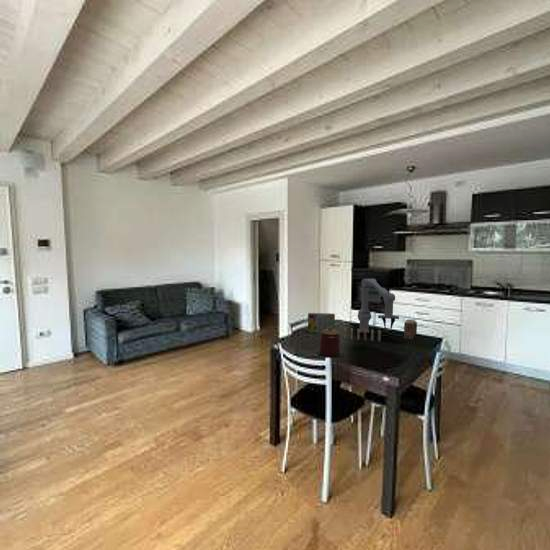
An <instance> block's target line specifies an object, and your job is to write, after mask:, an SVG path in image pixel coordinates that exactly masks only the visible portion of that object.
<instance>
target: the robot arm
mask: <svg viewBox="0 0 550 550" xmlns="http://www.w3.org/2000/svg"><path fill="white" fill-rule="evenodd" d="M360 287H361V304H360V305H361V307H360V309H359V310H358V314H357V319H358V321H359V329H360V333H364V329H367V333H368V334H369V333H370V330H369V329H370V328H369V327H370V320H371V319H372V312H371V310H370V308H369V290H370V289H371V288H374V289H375V290H377V292H378V295H380V296H381V297H382V299H383V304H384V314H378V315H377V318H378V319H381V320H382V322H383V327H384V329H387V327H386V326H387V325H386V323H387V319H389V320H390V329H392V328H393V326H394V323H395V322H396V320H400V316H399V315H394V301H395V300H396V295H395V294H394V293H392V292H389V291H388V290H387V288H386V287H382V286H381V285H380V284H379V283H378V282H377V279H376V278H363V279H362V280H361V286H360Z"/></svg>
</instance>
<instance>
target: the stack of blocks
mask: <svg viewBox="0 0 550 550" xmlns="http://www.w3.org/2000/svg"><path fill="white" fill-rule="evenodd" d="M403 325H404V327H403V339H406V338H407V340H413V339H414V338H415V337H416V334H417V332H418V331H417V330H418V322H417V321H416V320H415V319H414V320H413V319H407V320H406V321H405V322H404V324H403Z"/></svg>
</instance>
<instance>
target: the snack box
mask: <svg viewBox="0 0 550 550" xmlns="http://www.w3.org/2000/svg"><path fill="white" fill-rule="evenodd" d="M335 321H336V315H335V313H329V312H328V313H326V312H325V313H322V312H321V313H319V312H318V313H317V312H308V313H307V332H308V333H317V334H318V333H320V334H322V332H321V331H322V330H324V329H328V328H329V327H332V329H335V330H336V327H335Z"/></svg>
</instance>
